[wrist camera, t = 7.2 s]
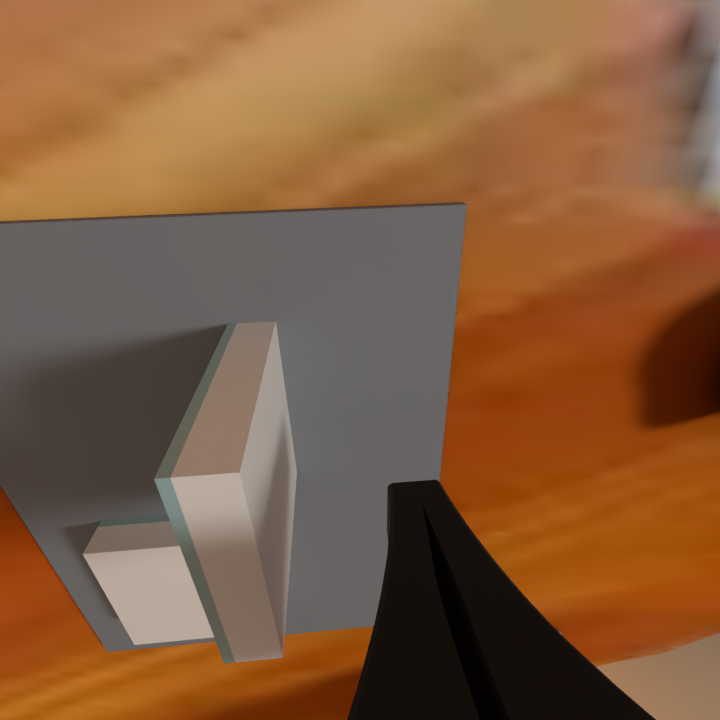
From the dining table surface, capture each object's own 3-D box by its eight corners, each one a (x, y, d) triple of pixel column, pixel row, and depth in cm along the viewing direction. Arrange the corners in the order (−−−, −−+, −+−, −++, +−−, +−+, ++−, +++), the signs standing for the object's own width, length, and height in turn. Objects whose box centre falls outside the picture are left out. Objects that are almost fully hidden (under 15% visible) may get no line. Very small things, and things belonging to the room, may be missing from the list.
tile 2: (296, 472, 17) (283, 657, 11) (258, 475, 17) (224, 663, 11) (275, 321, 14) (239, 472, 8) (228, 324, 14) (153, 478, 8)
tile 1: (279, 631, 20) (134, 645, 20) (282, 598, 22) (146, 611, 21) (258, 539, 17) (82, 554, 17) (263, 508, 18) (101, 521, 18)
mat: (424, 613, 24) (425, 621, 24) (110, 644, 23) (107, 651, 23) (462, 202, 13) (466, 204, 13) (-151, 227, 12) (-164, 230, 12)
